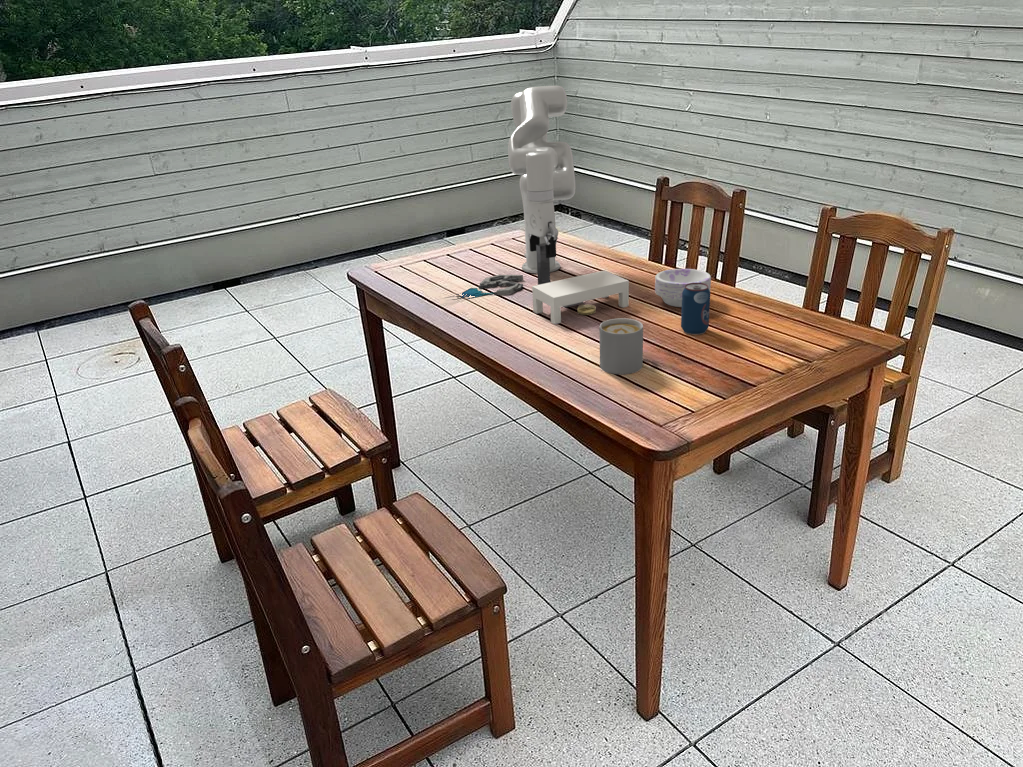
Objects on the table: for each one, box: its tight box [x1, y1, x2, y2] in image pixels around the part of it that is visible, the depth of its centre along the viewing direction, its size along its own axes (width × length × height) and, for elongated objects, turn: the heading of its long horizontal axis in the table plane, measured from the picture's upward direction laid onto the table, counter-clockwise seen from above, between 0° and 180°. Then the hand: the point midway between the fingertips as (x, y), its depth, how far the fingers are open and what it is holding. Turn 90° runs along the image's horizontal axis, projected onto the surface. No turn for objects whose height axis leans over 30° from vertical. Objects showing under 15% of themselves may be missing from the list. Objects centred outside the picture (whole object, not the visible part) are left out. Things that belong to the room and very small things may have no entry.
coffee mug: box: [599, 317, 644, 375], centre depth 180 cm, size 13×10×10 cm
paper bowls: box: [654, 268, 712, 308], centre depth 216 cm, size 15×15×8 cm
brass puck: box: [577, 303, 597, 316], centre depth 215 cm, size 5×5×2 cm
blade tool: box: [536, 243, 584, 308], centre depth 225 cm, size 19×6×14 cm, turn 27°
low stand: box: [531, 270, 630, 325], centre depth 216 cm, size 12×24×8 cm, turn 117°
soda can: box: [680, 283, 711, 336], centre depth 196 cm, size 7×7×12 cm
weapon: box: [457, 274, 524, 300], centre depth 236 cm, size 34×2×15 cm
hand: (543, 253), depth 229 cm, fingers open, 9 cm apart
